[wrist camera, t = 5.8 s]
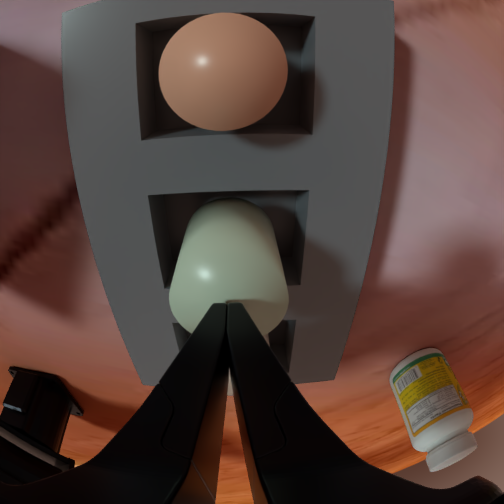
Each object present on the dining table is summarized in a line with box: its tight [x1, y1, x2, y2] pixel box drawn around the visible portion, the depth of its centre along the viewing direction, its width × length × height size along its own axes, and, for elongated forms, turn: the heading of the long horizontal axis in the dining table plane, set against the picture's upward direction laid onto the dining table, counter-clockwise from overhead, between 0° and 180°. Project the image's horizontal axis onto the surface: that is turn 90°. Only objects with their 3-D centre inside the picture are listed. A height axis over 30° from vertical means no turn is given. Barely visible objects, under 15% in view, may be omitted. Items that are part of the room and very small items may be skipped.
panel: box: [61, 0, 394, 386], centre depth 13 cm, size 20×12×3 cm, turn 0°
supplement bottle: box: [390, 348, 477, 472], centre depth 18 cm, size 5×5×10 cm
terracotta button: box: [159, 13, 288, 131], centre depth 9 cm, size 4×4×4 cm
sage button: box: [169, 197, 289, 336], centre depth 11 cm, size 4×4×4 cm
